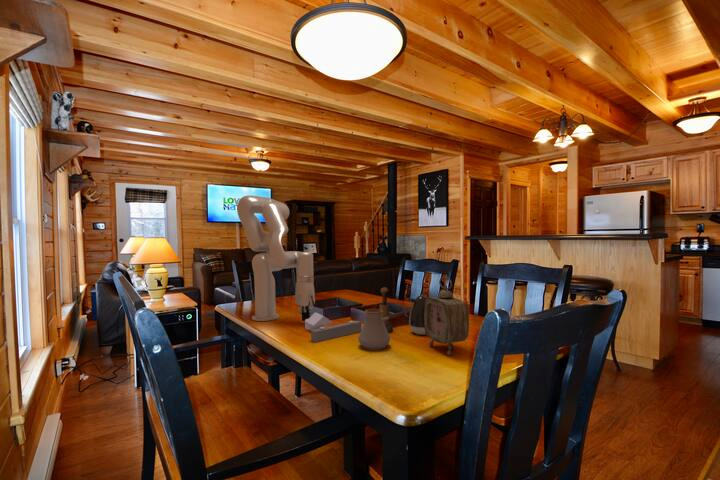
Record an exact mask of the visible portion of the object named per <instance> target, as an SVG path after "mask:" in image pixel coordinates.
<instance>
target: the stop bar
mask: <svg viewBox="0 0 720 480" xmlns="http://www.w3.org/2000/svg"><path fill="white" fill-rule="evenodd" d="M361 330H362V321H361V320H360V321H359V320H349V321H348V322H344V323H339V324H334V325H329V326H326V327H320V328H319V329H314V330H310V341H311V342H313V343H314V344H315V343H316V344H317V343H320V342H324V341H328V340H332V339H337V338H340V337H341V338H342V337H344V336H345V337H346V336H348V335H353V334H357V333H360V332H361Z"/></svg>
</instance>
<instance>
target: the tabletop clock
mask: <svg viewBox="0 0 720 480" xmlns="http://www.w3.org/2000/svg"><path fill="white" fill-rule="evenodd" d="M443 279H444V280H446V281H447V280H448V282H449V283H450V286H449V287H448V285H446V284H444V285H442V283H441V281H442V280H443ZM438 283H439V287H440V288H441V289H442V290H440V291H439V292H438V294H437V296H435V297H427V298H426V299H425V303H424V327H425V333H426V336H427V337H428V338H429V339H431V340H430V341H429V342H428V345H429V346H430V347H432V346H434V342H437V343H439V344H442V345H445V344H447V345H448V350H447V352H446V354H447V356H452V354H453V351H452V350H453V349H454V348H455V346H454V344H453V343H459V342H465V341H467V339H468V337H469V331H470V311H469V310H470V309H469V305H468V304H467V303H466V302H465V301H463V300H461V299H459V298H457V297H454V293H452V291H450V290H451V288H452V287H453V282H452V280H451V279H450V277H447V276H442V277H440V278H439V282H438Z"/></svg>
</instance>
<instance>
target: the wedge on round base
mask: <svg viewBox="0 0 720 480" xmlns="http://www.w3.org/2000/svg"><path fill="white" fill-rule="evenodd" d="M333 323H334V322H333V321H332V320H330V319H329V318H327V317H326V316H324V315H322V314H320V313H318V312H316V311H315V312H314V313H312V314H311V316H310V318H308V319H306V320H305V321H304V329H305V330H307V331H311V330H314V329H319V328H320V327H327V325H329V324H333Z"/></svg>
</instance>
